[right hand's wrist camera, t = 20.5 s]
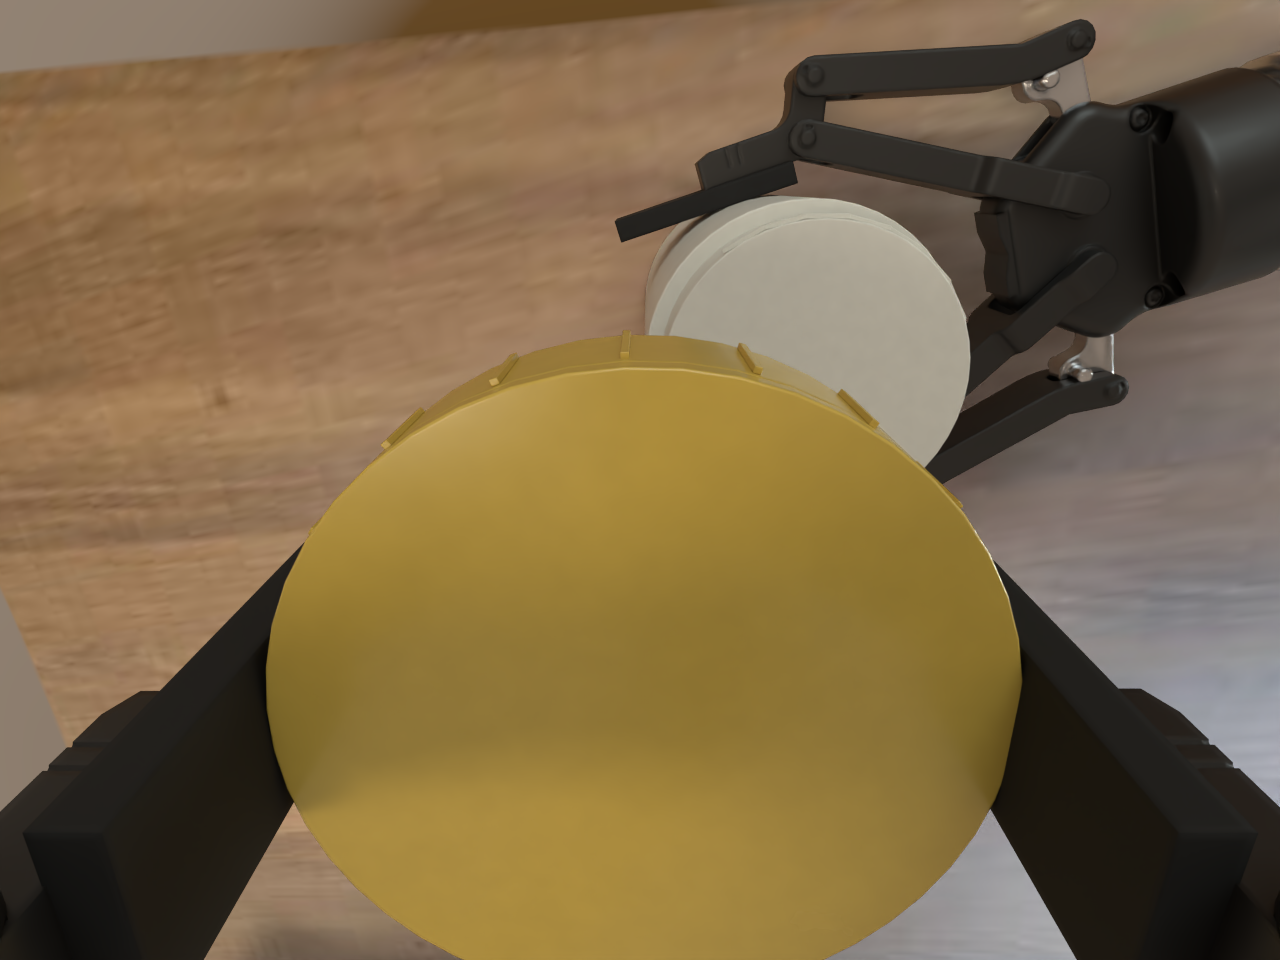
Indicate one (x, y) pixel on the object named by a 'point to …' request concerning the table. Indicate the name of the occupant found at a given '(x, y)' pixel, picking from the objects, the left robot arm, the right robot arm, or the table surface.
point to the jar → (823, 305)
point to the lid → (643, 664)
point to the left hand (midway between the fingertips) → (660, 360)
